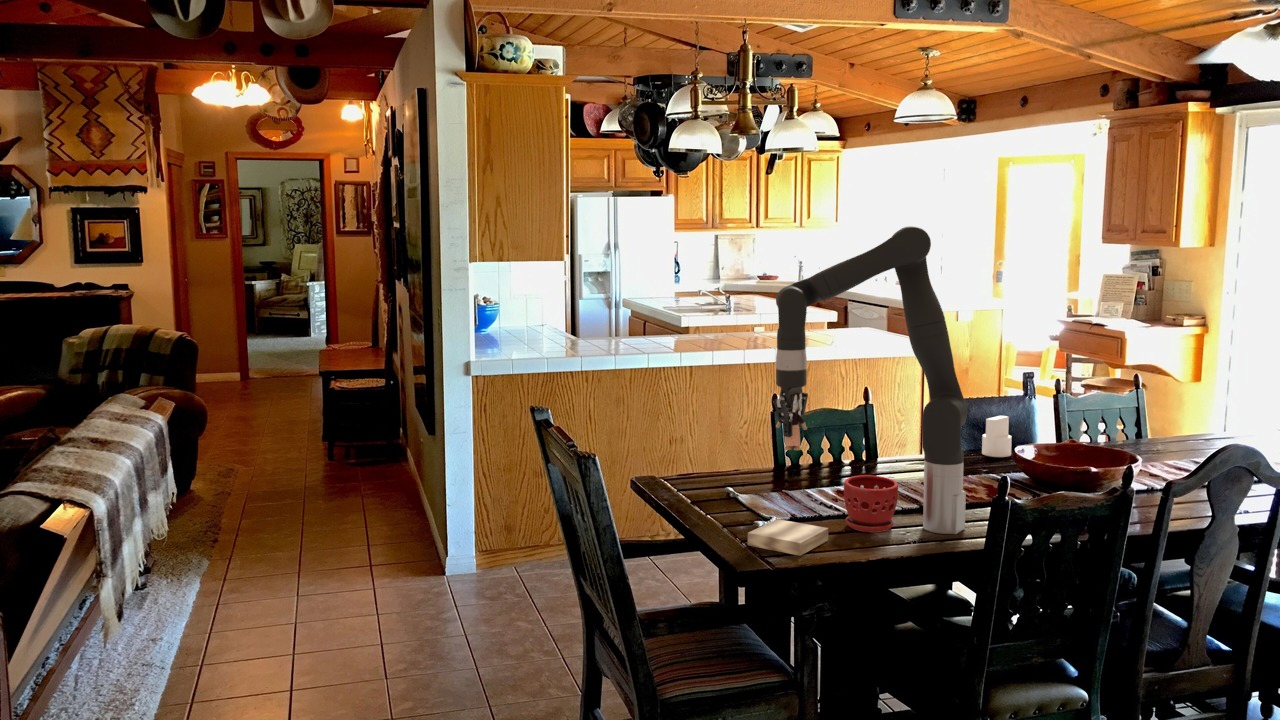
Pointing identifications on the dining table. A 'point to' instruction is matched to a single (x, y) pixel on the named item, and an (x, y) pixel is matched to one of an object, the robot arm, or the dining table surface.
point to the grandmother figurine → (794, 431)
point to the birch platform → (788, 537)
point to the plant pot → (870, 502)
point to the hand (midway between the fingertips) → (791, 434)
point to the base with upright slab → (997, 437)
